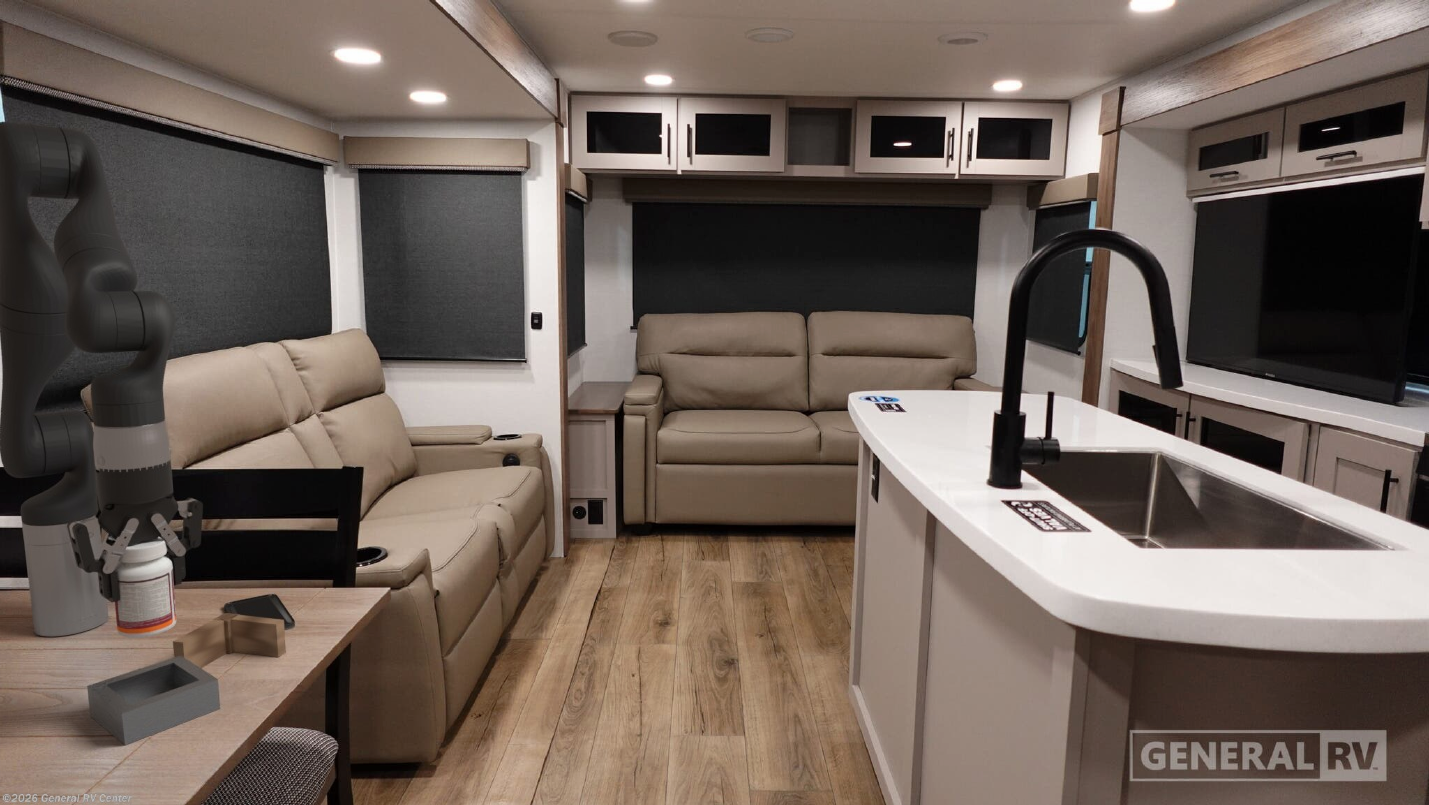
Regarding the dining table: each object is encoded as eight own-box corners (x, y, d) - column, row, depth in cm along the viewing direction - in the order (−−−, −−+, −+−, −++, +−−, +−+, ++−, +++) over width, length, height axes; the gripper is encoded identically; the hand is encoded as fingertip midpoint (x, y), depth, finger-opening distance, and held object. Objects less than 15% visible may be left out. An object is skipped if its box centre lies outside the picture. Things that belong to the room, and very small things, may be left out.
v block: (287, 655, 123) (284, 622, 122) (176, 679, 115) (173, 644, 114) (279, 634, 129) (277, 603, 128) (173, 655, 122) (170, 622, 121)
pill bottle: (135, 618, 108) (128, 533, 106) (186, 618, 108) (180, 533, 106) (106, 640, 102) (97, 550, 100) (160, 640, 102) (153, 550, 100)
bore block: (90, 715, 106) (87, 686, 105) (183, 683, 114) (180, 655, 113) (124, 745, 99) (121, 713, 99) (220, 708, 108) (218, 679, 107)
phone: (275, 592, 143) (296, 622, 132) (275, 599, 144) (296, 629, 132) (222, 603, 139) (239, 635, 127) (222, 610, 139) (239, 642, 127)
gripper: (184, 444, 109) (193, 568, 112) (49, 464, 98) (63, 601, 101) (211, 454, 105) (220, 582, 108) (73, 476, 93) (87, 619, 96)
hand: (144, 591), depth 104 cm, fingers closed on pill bottle, 6 cm apart
